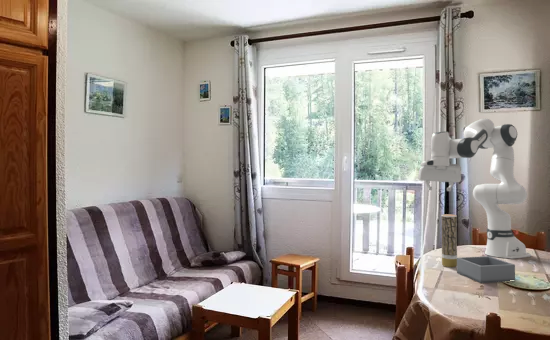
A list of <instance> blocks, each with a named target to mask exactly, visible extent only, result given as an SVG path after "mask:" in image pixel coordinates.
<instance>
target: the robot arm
mask: <svg viewBox="0 0 550 340" xmlns="http://www.w3.org/2000/svg"><path fill="white" fill-rule="evenodd" d="M517 137H518V131H517V128H516V126H514V125H513V124H510V123H507V124H506V123H504V124H502V125H497V126H495V123H494V122H493V121H492V120H491V119H490V118H487V117H486V118H480V119H478V120H475V121H473V122H472V123H471V122H470V123H469V125H467V126H466V127H465V129H464V131H463V138H455V139H453V138H451V136H450V133H449V131H438V132H434V133H432V136H431V139H430V153H431V155H430V159H427V160H425V161H424V160H423V161H422V162H420V168H419V171H418V177H417V178H418V180H419V181H421V182H425V185H426V186H427V191H432V190H433V187H432V186H431V185H430V183H431V182H439V183H441V182H442V183H448V184H449V186H448V187H446V192H451V191H452V188H453V186H454V183H460V182H461V181H462V174H461V170H462V167H461V165H460V164H458V163H450V159H464V158H465V159H466V158H468V159H470V158H471V159H472V158H473V157H474V156H476V154H477V152H478V150H479V149H483V150H485V149H490V148H491V149H493V151H492V156H491V160H490V169H489V175H490V176H491V177H492V178H494V179H495V180H498V181H500V183H482V184H481V183H480V184H476V186H474V187H473V191H472V196H473V198H474V200H475V201H476V202H477V203H478V204H480V205H481V206H482V207H483V209H484V211H485V213H486V214H485V215H486V219H487V228H486V238H487V240H486V247H485V251H484V255H485V256H490V257H493V258H504V259H505V258H506V259H512V260H513V259H521V258H522V259H523V258H530V257H532V254H531V253H529V252H527V247H526V245H525V244H524V243H523V242H522V241H520V240H519V239H518V238H517V237H516V236H515V235H519V231H518V230H512V217H511V215H510V213H509V212H507V211H505V210H504V209H501V208H500V206H499V205H519V204H523V203H524V202H525V201H526V200H527V197H528V191H527V190H526V188H525V187H524V186H523V185H521V184H520V183H519V182H518V181H517V180H516V178H515V175H514V166H515V164H514V163H515V153H514V152H515V151H514V147H513V146H514V145H515V142H516V141H517Z"/></svg>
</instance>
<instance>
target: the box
mask: <svg viewBox="0 0 550 340" xmlns="http://www.w3.org/2000/svg"><path fill="white" fill-rule="evenodd" d="M456 273H457V274H459V275H461V276H463V277H465V278H467V279H469V280H472V281H475V282H477V283H479V284H490V283H491V284H492V283H506V282H505V281H510V280H515V281H516V265H515V264H513V263H511V262H508V261H505V260H502V259H498V258H497V257H494V256H489V255H485V256H481V255H480V256H464V257H457V266H456ZM510 282H511V281H510Z"/></svg>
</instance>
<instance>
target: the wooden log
mask: <svg viewBox="0 0 550 340" xmlns="http://www.w3.org/2000/svg"><path fill="white" fill-rule="evenodd" d="M457 219H458V218H457V214H450V213H448V214H447V213H446V214H445V213H444V214H441V264H442V266H443V267H446V268H457V258H458V232H457V229H458V228H457V226H458V223H457V222H458V221H457Z"/></svg>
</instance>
